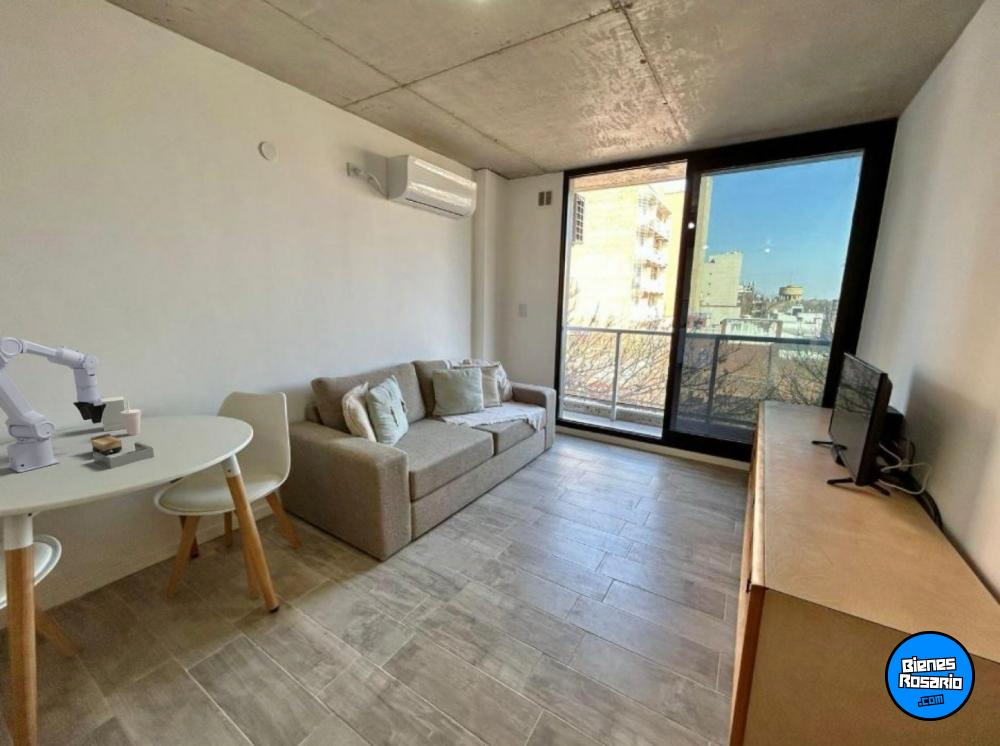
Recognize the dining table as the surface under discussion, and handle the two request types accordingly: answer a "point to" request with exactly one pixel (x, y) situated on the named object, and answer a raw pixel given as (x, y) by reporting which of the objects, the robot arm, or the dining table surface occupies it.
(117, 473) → the dining table surface
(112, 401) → the supplement box
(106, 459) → the dock
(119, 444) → the trolley
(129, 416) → the smoothie
